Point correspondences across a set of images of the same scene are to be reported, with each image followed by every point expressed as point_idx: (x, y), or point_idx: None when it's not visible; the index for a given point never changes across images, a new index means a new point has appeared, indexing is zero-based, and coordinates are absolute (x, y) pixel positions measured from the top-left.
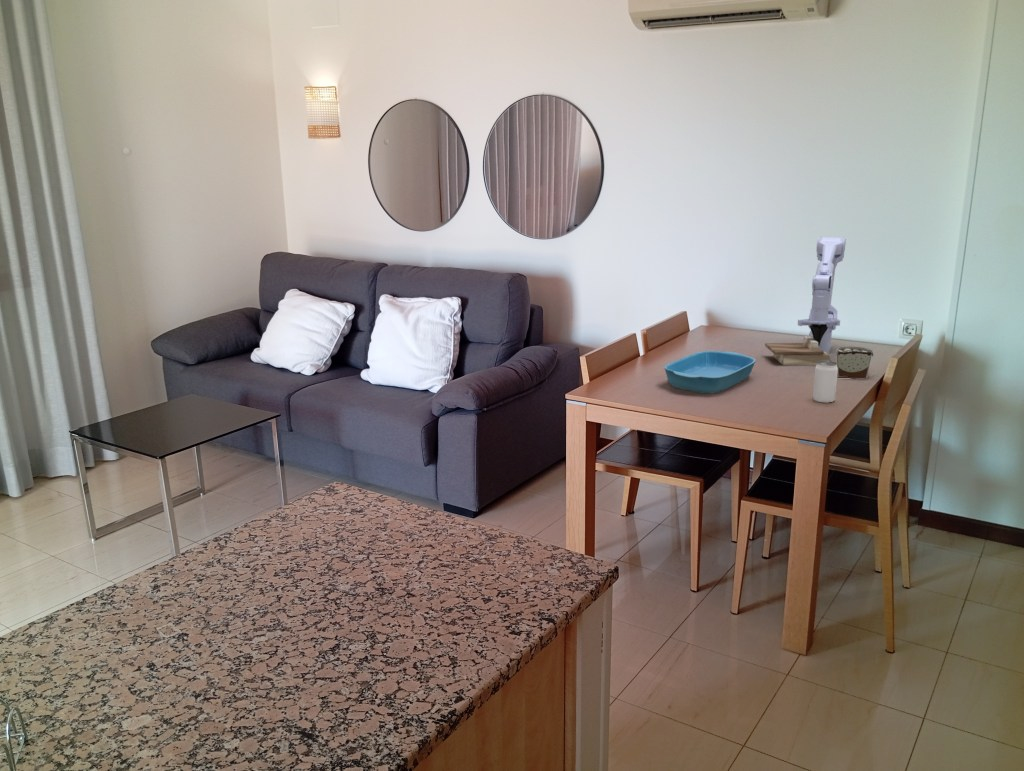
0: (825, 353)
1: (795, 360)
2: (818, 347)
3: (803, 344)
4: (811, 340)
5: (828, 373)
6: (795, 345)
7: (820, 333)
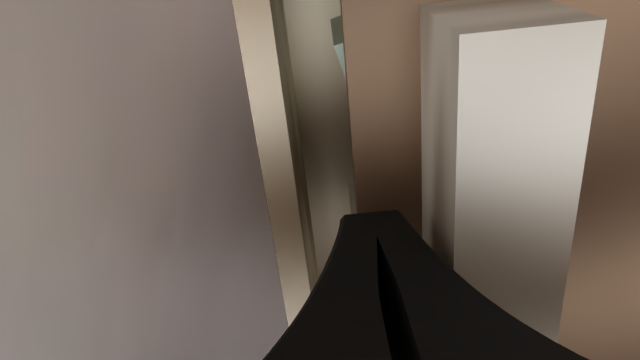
0: (268, 44)
1: None
2: None
3: None
4: (541, 215)
5: None
6: (631, 306)
7: (380, 343)
